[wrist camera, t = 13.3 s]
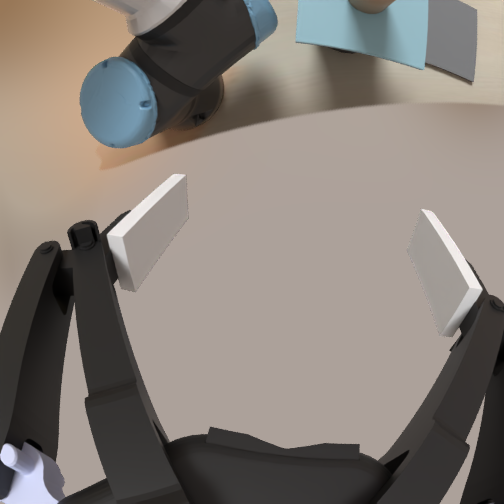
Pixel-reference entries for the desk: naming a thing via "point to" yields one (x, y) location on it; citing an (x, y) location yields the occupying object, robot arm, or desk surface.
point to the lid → (367, 27)
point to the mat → (452, 37)
